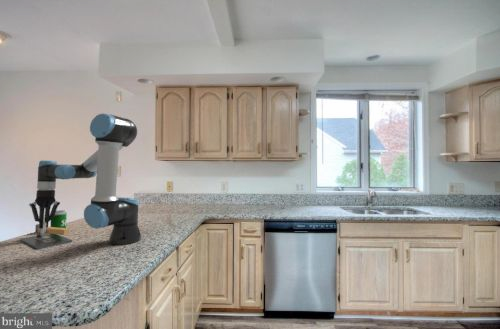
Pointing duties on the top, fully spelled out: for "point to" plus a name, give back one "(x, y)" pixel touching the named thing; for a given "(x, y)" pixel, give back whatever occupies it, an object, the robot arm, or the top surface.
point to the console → (45, 240)
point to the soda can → (59, 219)
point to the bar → (53, 230)
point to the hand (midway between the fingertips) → (43, 234)
